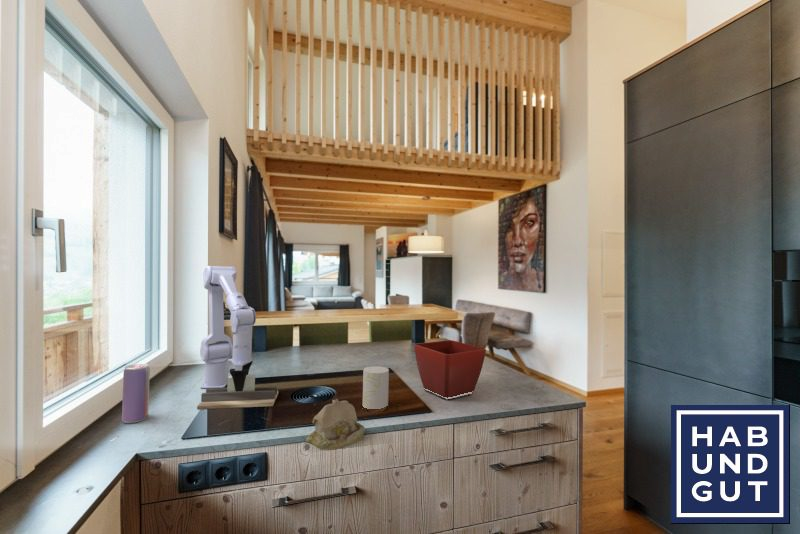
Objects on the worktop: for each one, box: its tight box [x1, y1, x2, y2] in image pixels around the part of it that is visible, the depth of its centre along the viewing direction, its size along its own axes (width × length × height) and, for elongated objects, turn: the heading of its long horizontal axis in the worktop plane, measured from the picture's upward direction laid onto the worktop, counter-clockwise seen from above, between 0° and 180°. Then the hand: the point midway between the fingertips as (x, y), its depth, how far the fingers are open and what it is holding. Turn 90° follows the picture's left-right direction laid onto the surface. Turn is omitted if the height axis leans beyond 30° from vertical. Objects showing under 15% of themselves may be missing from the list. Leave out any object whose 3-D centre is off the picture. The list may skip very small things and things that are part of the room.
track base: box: [196, 386, 279, 410], centre depth 117 cm, size 12×22×4 cm, turn 101°
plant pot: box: [413, 339, 487, 398], centre depth 130 cm, size 19×19×17 cm
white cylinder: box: [362, 365, 390, 409], centre depth 114 cm, size 8×8×12 cm
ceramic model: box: [305, 398, 366, 451], centre depth 93 cm, size 14×11×10 cm
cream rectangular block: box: [226, 374, 256, 392], centre depth 117 cm, size 2×8×7 cm, turn 107°
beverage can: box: [121, 363, 151, 424], centre depth 101 cm, size 6×6×15 cm
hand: (240, 387), depth 117 cm, fingers open, 7 cm apart
